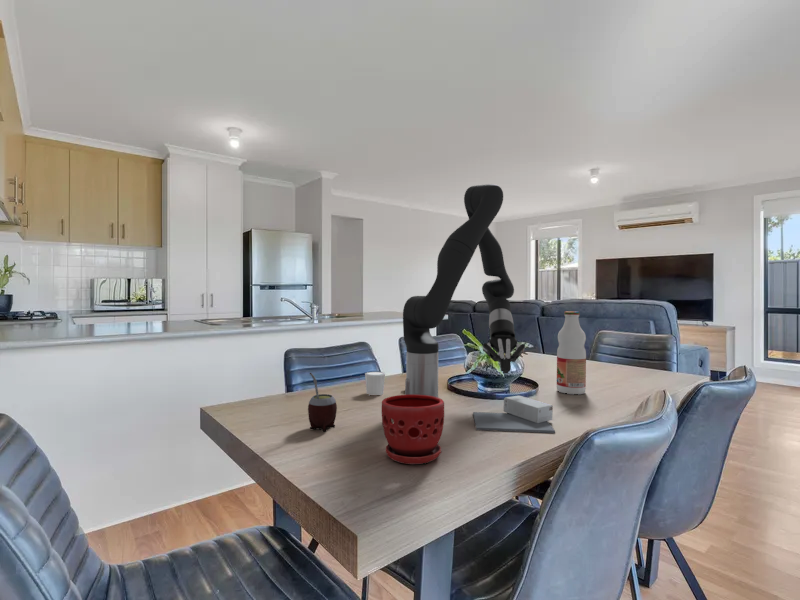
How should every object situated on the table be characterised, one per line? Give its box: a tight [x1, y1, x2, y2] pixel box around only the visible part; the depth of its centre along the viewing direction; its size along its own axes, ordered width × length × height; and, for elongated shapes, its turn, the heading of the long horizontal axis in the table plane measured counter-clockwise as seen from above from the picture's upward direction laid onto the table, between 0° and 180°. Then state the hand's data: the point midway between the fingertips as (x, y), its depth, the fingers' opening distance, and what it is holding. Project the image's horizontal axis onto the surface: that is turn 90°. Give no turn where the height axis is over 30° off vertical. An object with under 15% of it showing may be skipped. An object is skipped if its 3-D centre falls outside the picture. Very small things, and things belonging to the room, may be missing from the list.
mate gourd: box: [307, 372, 338, 433], centre depth 107 cm, size 8×8×15 cm
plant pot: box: [381, 394, 445, 465], centre depth 90 cm, size 13×13×12 cm
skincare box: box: [503, 395, 554, 423], centre depth 117 cm, size 6×4×12 cm
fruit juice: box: [556, 310, 587, 395], centre depth 148 cm, size 9×9×28 cm
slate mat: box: [472, 411, 556, 434], centre depth 113 cm, size 19×14×1 cm
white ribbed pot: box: [364, 371, 386, 396], centre depth 144 cm, size 7×7×7 cm
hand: (506, 371), depth 124 cm, fingers closed
